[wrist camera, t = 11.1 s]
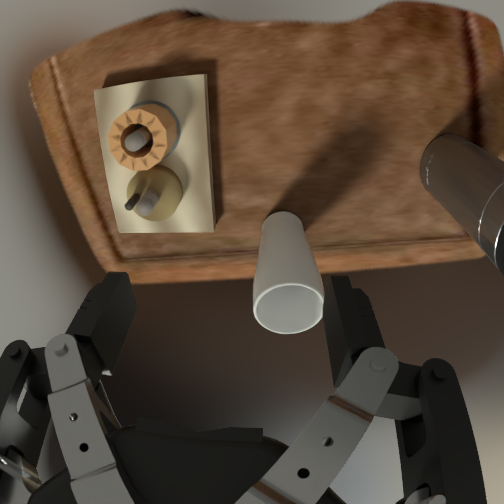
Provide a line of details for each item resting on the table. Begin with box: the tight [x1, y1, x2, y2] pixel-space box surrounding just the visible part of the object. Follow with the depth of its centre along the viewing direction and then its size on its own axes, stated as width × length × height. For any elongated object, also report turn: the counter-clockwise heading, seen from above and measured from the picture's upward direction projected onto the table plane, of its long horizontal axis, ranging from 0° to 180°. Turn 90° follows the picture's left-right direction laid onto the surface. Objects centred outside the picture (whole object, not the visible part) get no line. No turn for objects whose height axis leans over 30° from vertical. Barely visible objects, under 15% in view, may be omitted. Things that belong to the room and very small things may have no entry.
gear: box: [108, 104, 177, 171], centre depth 30 cm, size 6×6×4 cm
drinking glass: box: [253, 211, 325, 334], centre depth 34 cm, size 7×7×15 cm
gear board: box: [94, 74, 216, 233], centre depth 32 cm, size 13×19×7 cm
